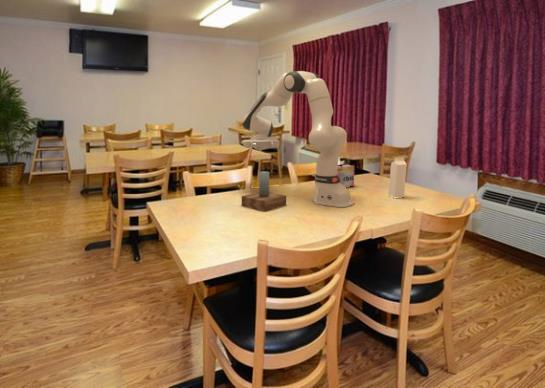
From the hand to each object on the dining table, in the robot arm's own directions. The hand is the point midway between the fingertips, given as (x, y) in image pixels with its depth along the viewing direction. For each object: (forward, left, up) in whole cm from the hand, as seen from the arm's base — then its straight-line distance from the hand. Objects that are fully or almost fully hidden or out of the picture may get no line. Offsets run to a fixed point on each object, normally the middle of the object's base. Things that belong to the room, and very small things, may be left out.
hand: (263, 145), depth 212 cm
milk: (-58, -46, -28) cm, 79 cm away
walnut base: (-15, +16, -28) cm, 36 cm away
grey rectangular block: (-15, +16, -23) cm, 32 cm away
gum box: (-21, -44, -28) cm, 56 cm away
